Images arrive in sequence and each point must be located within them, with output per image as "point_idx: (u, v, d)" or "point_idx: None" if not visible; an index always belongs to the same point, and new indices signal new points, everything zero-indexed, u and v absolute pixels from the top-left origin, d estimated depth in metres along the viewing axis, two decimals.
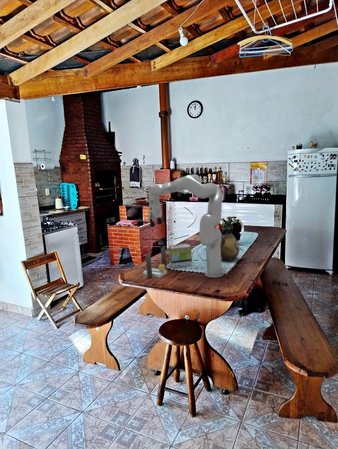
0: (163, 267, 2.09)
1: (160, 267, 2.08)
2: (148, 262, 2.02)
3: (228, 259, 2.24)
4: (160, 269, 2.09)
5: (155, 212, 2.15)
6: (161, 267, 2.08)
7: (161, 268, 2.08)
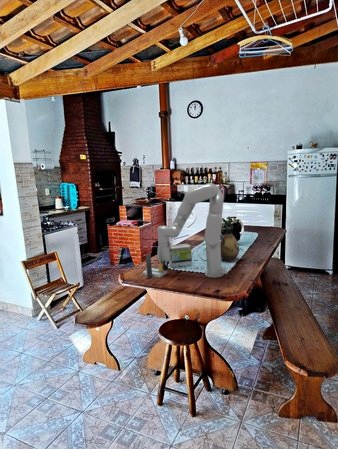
0: (162, 267, 2.09)
1: (159, 267, 2.09)
2: (148, 262, 2.02)
3: (228, 259, 2.24)
4: (159, 269, 2.09)
5: None
6: (160, 267, 2.08)
7: (161, 268, 2.08)
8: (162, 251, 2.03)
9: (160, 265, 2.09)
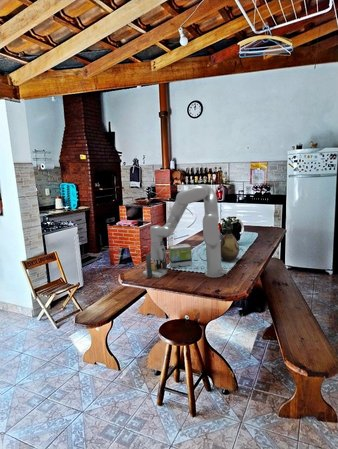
0: (156, 266, 2.12)
1: (153, 266, 2.12)
2: (148, 262, 2.02)
3: (228, 259, 2.24)
4: (153, 268, 2.12)
5: None
6: (154, 266, 2.12)
7: (154, 267, 2.12)
8: (155, 250, 2.07)
9: (153, 264, 2.12)
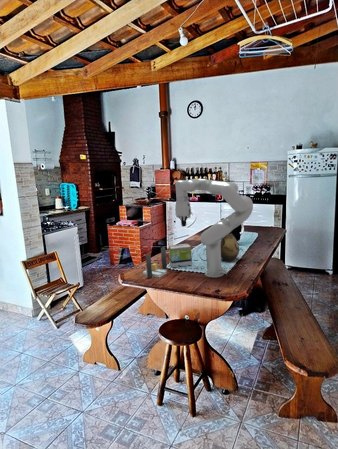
0: (155, 266, 2.12)
1: (153, 266, 2.12)
2: (148, 262, 2.02)
3: (228, 259, 2.24)
4: (153, 268, 2.12)
5: None
6: (154, 266, 2.12)
7: (154, 267, 2.12)
8: (180, 206, 2.01)
9: (153, 264, 2.12)
